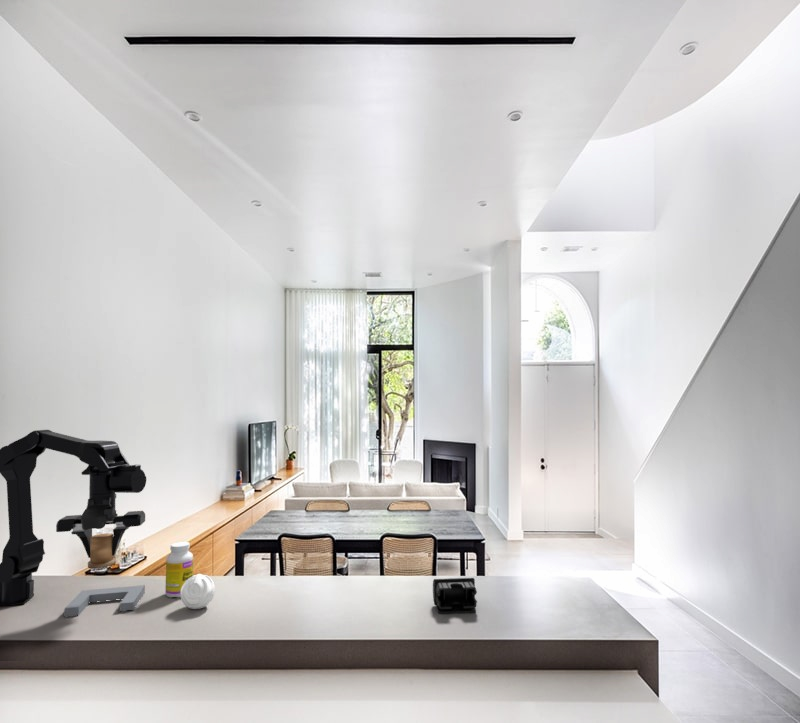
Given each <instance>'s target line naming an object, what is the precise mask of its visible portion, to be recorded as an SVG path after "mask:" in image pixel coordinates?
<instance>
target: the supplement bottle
mask: <svg viewBox="0 0 800 723" xmlns="http://www.w3.org/2000/svg"><path fill="white" fill-rule="evenodd" d="M190 545H191V544H190V542H188V541H177V542H173V543H171V544H170V553H169V554H168V555H167V556H166V560H165V589H164V590H165V592H164V593H165V595H166V597H167V598H172V597H178V598H181V597H180V591H181V587H182V585H183V584H184V583H185V581H186V580H187V579H189V578H190V577H192V576H194V555H193V553H192V552H191V551H189V550H190V548H191V547H190Z"/></svg>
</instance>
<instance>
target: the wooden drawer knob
mask: <svg viewBox="0 0 800 723" xmlns="http://www.w3.org/2000/svg"><path fill="white" fill-rule="evenodd" d="M113 537H114V534H113V533H109V532H107V533H99V534H95V535H92V536H91V537H90V558H89V561H88V562H87V568H88V569H92V570H94V569H95V570H96V569H103V568H108V567H112V566H114V565H116V560H117V559H116V558H115V556H112V546H113Z"/></svg>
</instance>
